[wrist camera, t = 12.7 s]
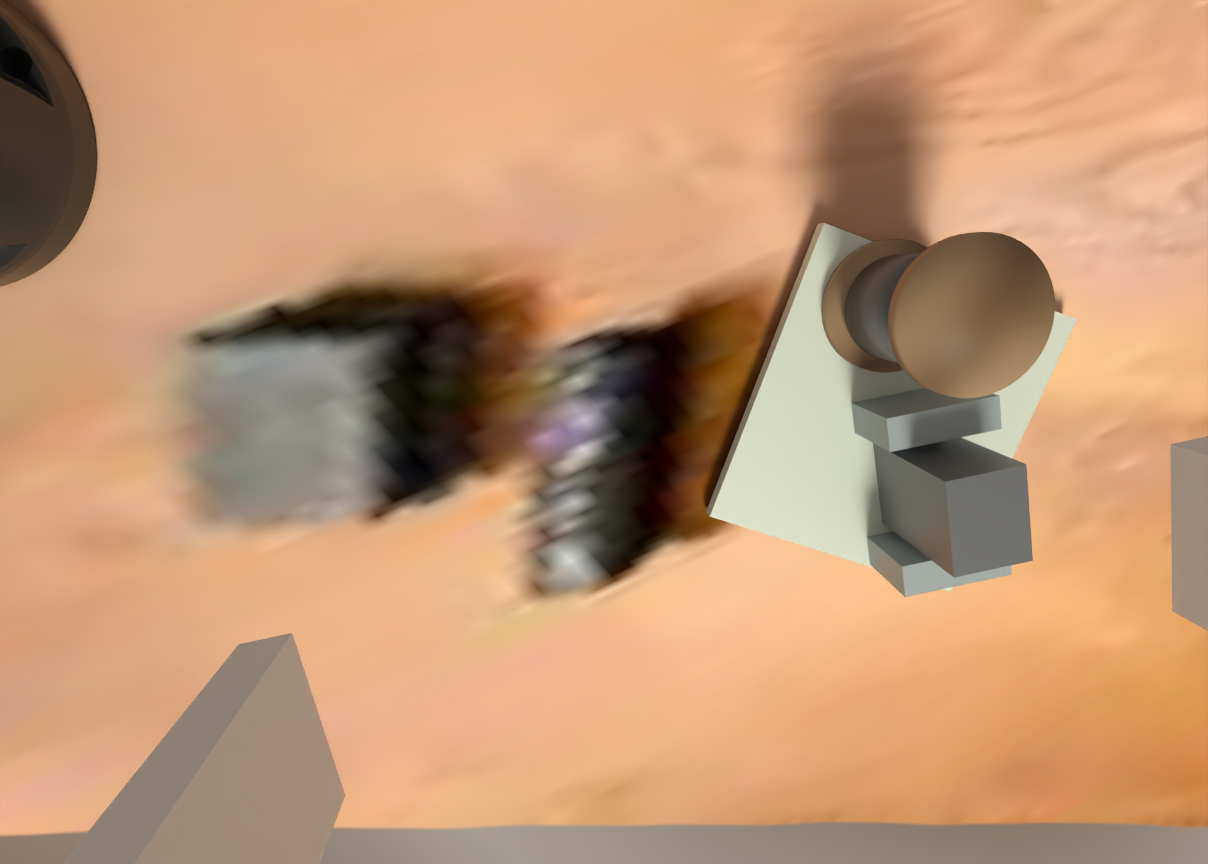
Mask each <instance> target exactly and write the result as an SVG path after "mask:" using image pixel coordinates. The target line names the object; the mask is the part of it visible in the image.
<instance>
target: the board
mask: <svg viewBox="0 0 1208 864" xmlns="http://www.w3.org/2000/svg"><path fill="white" fill-rule="evenodd" d="M872 242H873V241H871V240H868V239H865V238H863V237H860V236H857V235H855V234H852V233H850V232H847V231H844V230H842V229H839V228H837V227H834V226H831V225H829V224H826V223H820V224H817V227H816V230H815V232H814V235H813V237H812V240H811V242H810V245H809V248H808V250H807V253H806V255H805V258H804V261H803V263H802V266H801V268H800V271H799V273H798V276H797V279H796V281H795V284H794V286H793V289H792V291H791V294H790V297H789V299H788V302H787V304H786V307H785V309H784V312H783V315H782V317H781V320H780V322H779V325H778V328H777V330H776V333H775V335H774V338H773V340H772V343H771V346H770V348H769V351H768V353H767V356H766V358H765V361H764V364H763V366H762V369H761V371H760V374H759V376H758V379H757V382H756V384H755V387H754V389H753V392H752V394H751V397H750V400H749V402H748V405H747V407H746V410H745V413H744V415H743V418H742V420H741V423H740V425H739V428H738V431H737V433H736V436H735V438H734V441H733V443H732V446H731V449H730V451H729V454H728V456H727V459H726V461H725V464H724V467H723V469H722V472H721V474H720V477H719V480H718V482H717V485H716V487H715V490H714V492H713V495H712V498H711V500H710V503H709V505H708V508H707V510H706V511H707V513H708V514H709V516H710V517H713V518H716V519H720V520H723V521H726V522H729V523H732V524H736V525H739V526H742V527H745V528H748V529H752V530H755V531H758V532H761V533H764V534H768V535H771V536H774V537H777V538H780V539H784V540H787V541H790V542H793V543H796V544H799V545H803V546H806V547H809V548H812V549H815V550H819V551H822V552H825V553H828V554H831V555H835V556H838V557H841V558H844V559H847V560H851V561H854V562H857V563H860V564H863V565H867V566H870V567H872V566H871V565H870V559H869V551H868V542H867V537H869V536H874V535H878V534H883V533H888V532H893V530H891V529H890V528H889V527H887V526H886V525H885V524H883V523H882V517H881V509H880V500H879V492H878V483H877V474H876V466H875V457H874V449H873V443H872V442H871V441H869V440H867V439H865V438H863V437H861V436H859V435H858V434H856V433H855V430H854V421H853V412H852V404H851V403H854V402H859V401H863V400H868V399H873V398H878V397H883V396H888V395H893V394H898V393H902V392H907V391H912V390H917V389H922V388H924V387H923V386H921V385H920V384H918V383H916V382H915V381H914V380H913V379H912V378H910V377H909V376H908V375H907V374H906V372H905V371H904V370H901V371H897V372H890V373H881V372H873V371H869V370H866V369H863V368H860V367H857V366H855V365H853V364H851V363H849V362H848V361H846V360H845V359H843V358H842V357H841V356H840V355H839V354H838V353H837V352H836V351H835V350H834V348H833V347H832V345H831V344H830V342H829V340H828V338H827V336H826V334H825V331H824V328H823V323H822V313H821V309H822V299H823V294H824V291H825V288H826V285H827V283H828V281H829V278H830V276H831V275H832V273H833V272H834V270H835V269H836V267H837V266H838V265H839V264H840V262H841V261H842V260H844V259H845V258H846V257H847V256H848V255H849V254H850V253H852V252H853V251H855V250H856V249H858V248H860V247H862V246H864V245H866V244H869V243H872ZM1076 320H1077V319H1075V318H1072V317H1070V316H1067V315H1064V314H1062V313H1059V312H1056V311H1055V314H1054V321H1053V326H1052V330H1051V333H1050V336H1049V338H1048V341H1047V344H1046V345H1045V347H1044V349H1043V351H1042V353H1041V355H1040V356H1039V357H1038V359H1037V360H1036V362H1035V363H1034V364H1033V365H1032V367H1031V368H1030V369H1029V370H1028V371H1027V372H1026V373H1025V374H1024V375H1023V376H1022V377H1021V378H1019V379H1018V380H1017V381H1015V382H1014V383H1012V384H1011V385H1009V386H1008V387H1006V388H1004V389H1002V390H1000V391H998V392H995V393H993V394H996V395H999V396H1000V410H1001V425H1002V429H999V430H994V431H990V432H985V433H980V434H975V435H970V436H965V437H961V438H963V439H966V440H968V441H971V442H973V443H976V444H978V445H980V446H983V447H985V448H988V449H990V450H993V451H995V452H997V453H1000V454H1002V455H1005V456H1007V457H1009V458H1013V456H1014V454H1015V452H1016V449H1017V447H1018V445H1019V443H1020V441H1021V439H1022V437H1023V434H1024V432H1025V430H1026V428H1027V426H1028V424H1029V421H1030V419H1031V417H1032V415H1033V413H1034V411H1035V409H1036V406H1037V404H1038V402H1039V400H1040V398H1041V396H1042V394H1043V391H1044V389H1045V387H1046V385H1047V383H1048V381H1049V379H1050V376H1051V374H1052V372H1053V370H1054V368H1055V366H1056V363H1057V361H1058V359H1059V357H1060V355H1061V353H1062V351H1063V348H1064V346H1065V344H1066V342H1067V340H1068V338H1069V336H1070V333H1071V331H1072V329H1073V327H1074V325H1075V323H1076ZM951 589H952V587H950V588H945V589H943V590H946V591H951Z"/></svg>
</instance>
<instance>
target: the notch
mask: <svg viewBox="0 0 1208 864" xmlns="http://www.w3.org/2000/svg"><path fill="white" fill-rule="evenodd" d="M851 404H852V412H853V421H854V430H855V433H856V434H858V435H859V436H861V437H863V438H865V439H867V440H869V441H871V442H872V443H874V444H876V445H878V446H880V447H882V448H883V449H885V450H887V451H889V452H893V451H898V450H903V449H908V448H912V447H917V446H922V445H927V444H932V443H936V442H941V441H946V440H951V439H956V438H961V437H965V436H970V435H975V434H980V433H985V432H990V431H994V430H999V429H1002V425H1001V410H1000V396H999V395H996V394H989V395H986V396H982V397H975V398H957V397H950V396H947V395H943V394H940V393H937V392H934V391H931V390H929V389H927V388H922V389H917V390H912V391H907V392H902V393H898V394H893V395H888V396H883V397H878V398H873V399H868V400H863V401H859V402H854V403H851ZM867 542H868V551H869V559H870V565H871V566H872V567H873V568H874V569H876V570H877V571H878V572H879V573H880V574H881V575H882V576H883V577H884V578H885V579H886V580H887V581H888V582H890V583H891V584H892V585H893V586H894V587H895V588H896V589H897V590H898V591H899V592H900V593H901V594H903V595H904V596H905V597H908V596H912V595H917V594H922V593H927V592H931V591H936V590H941V589H945V588H950V587H955V586H959V585H964V584H969V583H973V582H978V581H983V580H988V579H992V578H997V577H1002V576H1006V575H1011V574H1012V572H1011V565H1010V566H1005V567H1001V568H996V569H992V570H987V571H982V572H978V573H973V574H969V575H964V576H960V577H955V578H954V577H953V576H951V575H950V574H949V573H947V572H946V571H945V570H943V569H942V568H941V567H939V566H938V565H937V564H936V563H934V562H933V561H932V560H930V559H929V558H928V557H926V556H925V555H924V554H923V553H921V552H920V551H919V550H917V549H916V548H915V547H913V546H912V545H911V544H909V543H908V542H907V541H906V540H904V539H903V538H902V537H900V536H899V535H898V534H896V533H895V532H894V531H893V532H888V533H883V534H878V535H874V536H869V537H867Z"/></svg>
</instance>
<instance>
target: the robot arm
mask: <svg viewBox="0 0 1208 864" xmlns="http://www.w3.org/2000/svg"><path fill="white" fill-rule="evenodd" d="M95 178H96V143H95V136H94V130H93V125H92V121H91V117H90V114H89V110H88V107H87V104H86V102H85V99H84V96H83V94H82V92H81V89H80V87H79V85H78V83H77V81H76V79H75V77H74V75H73V73H72V72H71V70H70V68H69V67H68V65H67V63H66V62H65V60H64V59H63V58H62V56H61V55H60V53H59V52H58V50H57V49H56V48H55V47H54V45H53V44H52V43H51V42H50V40H49V39H48V38H47V37H46V36H45V35H44V34H43V33H42V32H41V30H40V29H39V28H37V27H36V26H35V25H34V24H33V23H32V22H31V21H30V20H29V19H28V18H27V17H26V16H24V15H23V14H22V13H21V12H20V11H18V10H17V9H16V8H14V7H13V6H12V5H10V4H9V3H8V2H6V1H5V0H0V286H4V285H7V284H10V283H13V282H16V281H19V280H21V279H23V278H26V277H27V276H29V275H31V274H33V273H35V272H37V271H38V270H40V269H41V268H43V267H44V266H46V265H47V264H48V263H50V262H51V261H52V260H53V259H54V258H56V257H57V256H58V255H59V254H60V253H61V252H62V251H63V250H64V249H65V247H66V246H67V245H68V244H69V242H70V241H71V240H72V239H73V237H74V236H75V234H76V233H77V231H78V229H79V228H80V226H81V224H82V222H83V220H84V218H85V215H86V213H87V211H88V208H89V205H90V202H91V199H92V194H93V190H94V185H95ZM1171 522H1172V603H1173V612H1175V613H1177V614H1179V615H1180V616H1182V617H1184V618H1186V619H1188V620H1189V621H1191V622H1193V623H1195V624H1197V625H1198V626H1200V627H1202V628H1204V629H1206V630H1207V631H1208V437H1203V438H1198V439H1194V440H1189V441H1184V442H1180V443H1175V444H1171ZM344 797H345V793H344V790H343V787H342V784H341V781H340V778H339V775H338V772H337V769H336V766H335V763H334V760H333V757H332V754H331V751H330V747H329V744H328V741H327V738H326V735H325V732H324V729H323V726H322V723H321V720H320V717H319V714H318V711H317V708H316V705H315V702H314V699H313V695H312V692H311V689H310V686H309V683H308V680H307V677H306V674H305V671H304V668H303V665H302V662H301V659H300V656H299V653H298V650H297V646H296V643H295V640H294V637H293V634H292V633H290V634H286V635H281V636H276V637H272V638H267V639H262V640H258V641H253V642H248V643H244V644H239V645H238V646H237V647H236V649H235V650H234V651H233V652H232V654H231V655H230V656H229V657H228V659H227V660H226V661H225V662H224V664H223V665H222V666H221V667H220V668H219V670H218V671H217V672H216V673H215V675H214V676H213V677H212V678H211V680H210V681H209V682H208V683H207V685H206V686H205V687H204V688H203V690H202V691H201V692H200V693H199V695H198V696H197V697H196V698H195V700H194V701H193V702H192V703H191V705H190V706H189V707H188V708H187V710H186V711H185V712H184V713H183V715H182V716H181V717H180V718H179V719H178V721H177V722H176V723H175V724H174V726H173V727H172V728H171V729H170V731H169V732H168V733H167V734H166V736H165V737H164V738H163V739H162V741H161V742H160V743H159V744H158V746H157V747H156V748H155V749H154V751H153V752H152V753H151V754H150V756H149V757H148V758H147V759H146V761H145V762H144V763H143V764H142V765H141V767H140V768H139V769H138V770H137V772H136V773H135V774H134V775H133V777H132V778H131V779H130V780H129V782H128V783H127V784H126V785H125V787H124V788H123V789H122V790H121V792H120V793H119V794H118V795H117V797H116V798H115V799H114V800H113V802H112V803H111V804H110V805H109V807H108V808H107V809H106V810H105V812H104V813H103V814H102V815H101V816H100V818H99V819H98V820H97V821H96V823H95V824H94V825H93V826H92V828H91V829H90V830H89V831H88V833H87V834H86V835H85V836H84V838H83V839H82V840H81V841H80V843H79V844H78V845H77V847H76V848H75V849H74V850H73V851H72V853H71V854H70V855H69V856H68V858H67V859H66V860H65V861H64V863H63V864H319V863H320V861H321V858H322V855H323V853H324V850H325V847H326V844H327V842H328V839H329V837H330V834H331V831H332V829H333V826H334V823H335V821H336V818H337V815H338V813H339V810H340V807H341V805H342V802H343V799H344Z"/></svg>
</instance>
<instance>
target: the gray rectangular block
mask: <svg viewBox="0 0 1208 864" xmlns="http://www.w3.org/2000/svg"><path fill="white" fill-rule="evenodd" d="M873 449H874V457H875V466H876V474H877V483H878V492H879V500H880V509H881V517H882V523H883V524H885V525H886V526H887V527H889V528H890V529H891V530H893V531H894V532H895V533H896V534H898V535H899V536H900V537H902V538H903V539H904V540H906V541H907V542H908V543H909V544H911V545H912V546H913V547H915V548H916V549H917V550H919V551H920V552H921V553H923V554H924V555H925V556H926V557H928V558H929V559H930V560H932V561H933V562H934V563H936V564H937V565H938V566H939V567H941V568H942V569H943V570H945V571H946V572H947V573H949V574H950V575H951V576H953V577H954V578H955V577H960V576H964V575H969V574H973V573H978V572H982V571H987V570H992V569H996V568H1001V567H1005V566H1010V565H1014V564H1019V563H1024V562H1028V561H1033V558H1032V543H1031V528H1030V513H1029V498H1028V483H1027V468H1026V464H1024V463H1022V462H1019V461H1017V460H1014V459H1012V458H1009V457H1007V456H1005V455H1002V454H1000V453H997V452H995V451H993V450H990V449H988V448H985V447H983V446H980V445H978V444H976V443H973V442H971V441H968V440H966V439H963V438H956V439H951V440H946V441H941V442H936V443H932V444H927V445H922V446H917V447H912V448H908V449H903V450H898V451H893V452H889V451H887V450H885V449H883V448H882V447H880V446H878V445H876V444H874V443H873Z"/></svg>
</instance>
